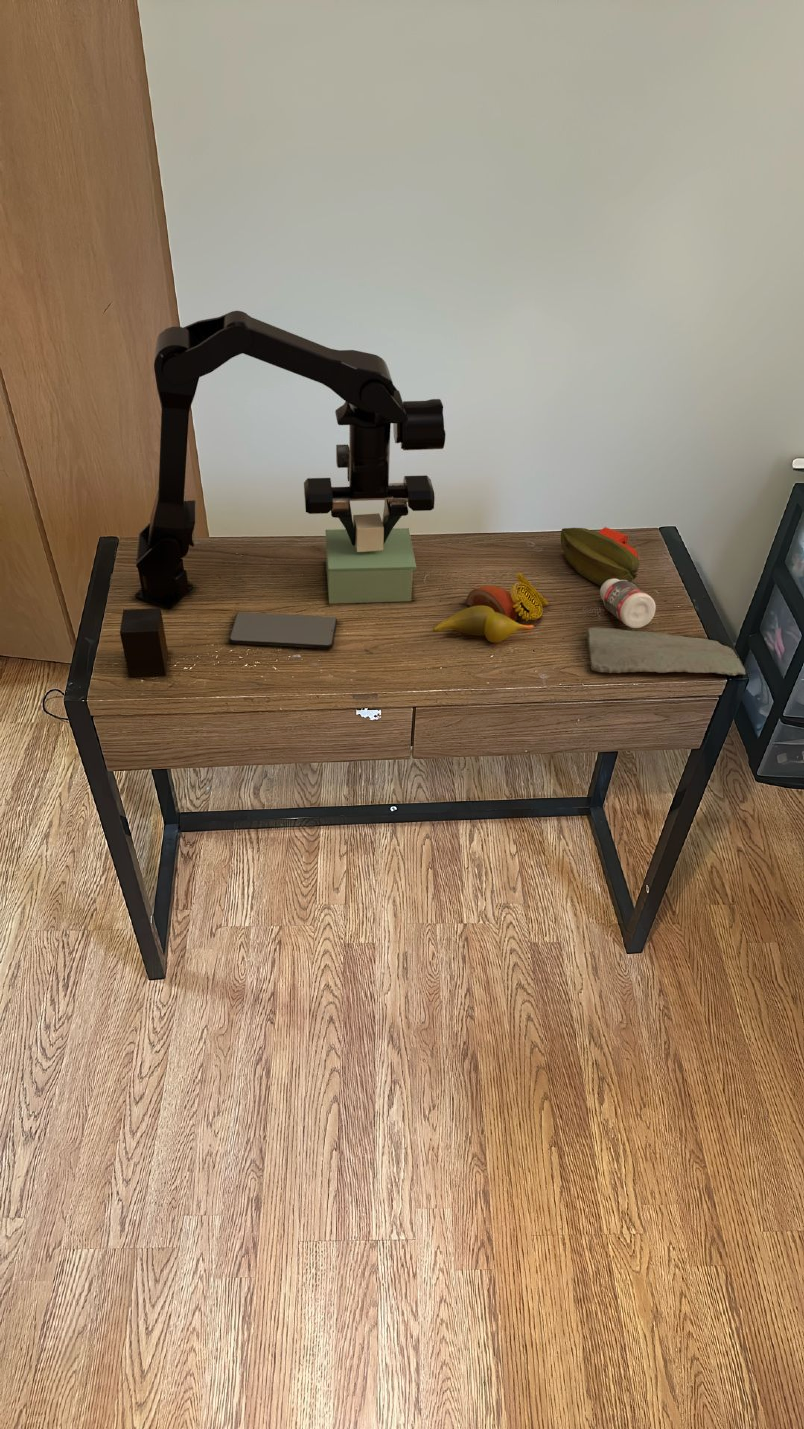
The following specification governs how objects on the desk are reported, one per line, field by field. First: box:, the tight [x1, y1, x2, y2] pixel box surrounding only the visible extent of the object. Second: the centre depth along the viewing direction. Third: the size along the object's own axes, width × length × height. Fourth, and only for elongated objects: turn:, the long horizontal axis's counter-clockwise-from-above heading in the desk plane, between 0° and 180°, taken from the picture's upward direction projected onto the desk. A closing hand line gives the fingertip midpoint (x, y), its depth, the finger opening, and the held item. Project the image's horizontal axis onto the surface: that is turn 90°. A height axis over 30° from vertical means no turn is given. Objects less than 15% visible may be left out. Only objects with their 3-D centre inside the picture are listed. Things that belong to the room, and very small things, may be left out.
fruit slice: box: [465, 585, 519, 622], centre depth 146 cm, size 8×7×5 cm
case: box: [325, 544, 414, 605], centre depth 150 cm, size 13×11×6 cm
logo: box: [509, 572, 549, 622], centre depth 145 cm, size 7×1×8 cm
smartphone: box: [228, 611, 338, 650], centre depth 141 cm, size 7×1×15 cm
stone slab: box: [585, 626, 747, 676], centre depth 140 cm, size 22×3×10 cm
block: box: [352, 513, 384, 552], centre depth 145 cm, size 4×4×4 cm
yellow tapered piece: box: [432, 605, 535, 643], centre depth 141 cm, size 4×15×6 cm
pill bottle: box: [599, 579, 657, 629], centre depth 145 cm, size 5×5×10 cm
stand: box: [119, 607, 169, 679], centre depth 133 cm, size 5×5×8 cm
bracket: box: [583, 526, 639, 560], centre depth 159 cm, size 12×4×5 cm
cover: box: [325, 527, 417, 572], centre depth 148 cm, size 13×11×1 cm
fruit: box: [560, 527, 640, 588], centre depth 153 cm, size 11×12×7 cm
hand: (368, 543), depth 147 cm, fingers closed on block, 4 cm apart
